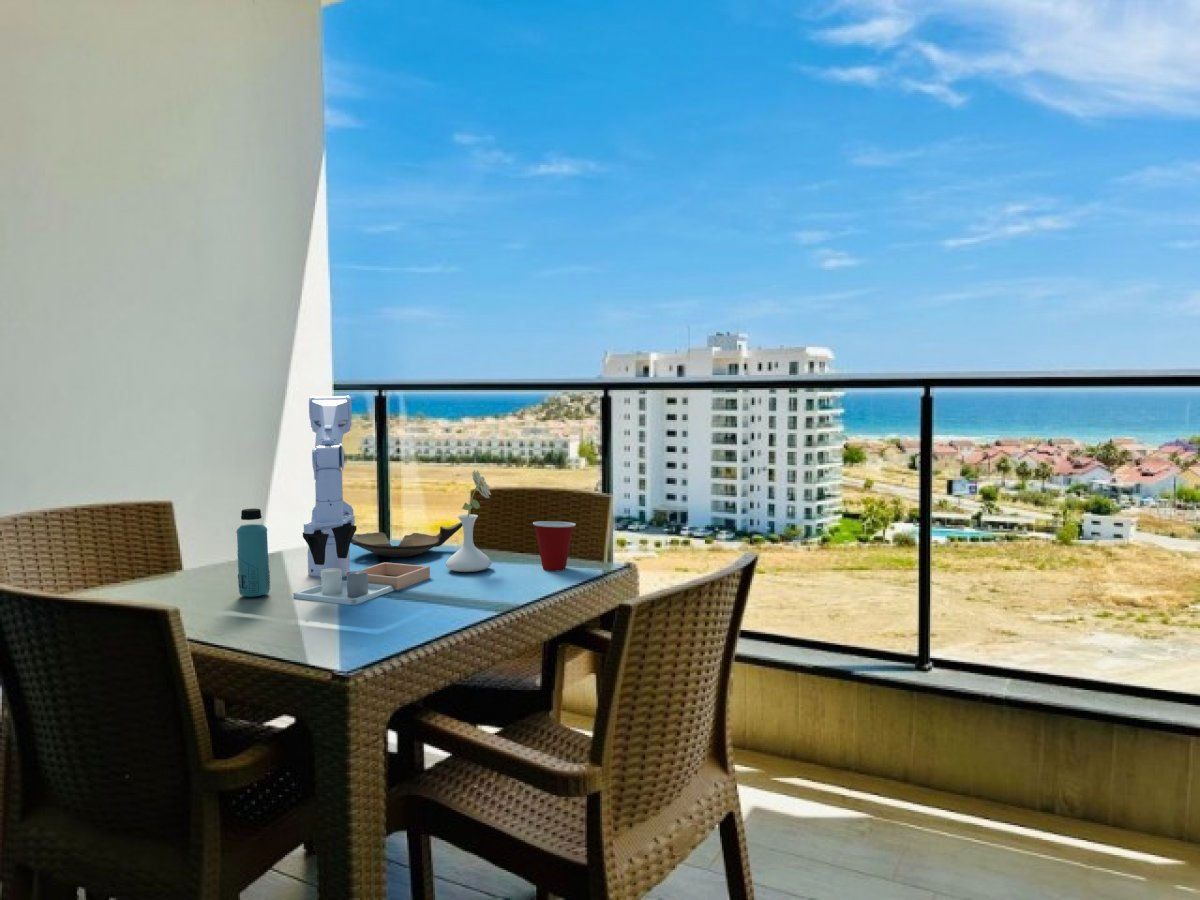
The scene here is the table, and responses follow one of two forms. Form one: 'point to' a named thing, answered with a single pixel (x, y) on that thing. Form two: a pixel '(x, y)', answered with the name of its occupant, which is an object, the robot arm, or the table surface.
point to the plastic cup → (554, 543)
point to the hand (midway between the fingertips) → (331, 561)
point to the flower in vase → (470, 536)
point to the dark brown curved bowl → (404, 542)
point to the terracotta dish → (397, 574)
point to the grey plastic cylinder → (357, 583)
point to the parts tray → (343, 594)
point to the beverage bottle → (253, 556)
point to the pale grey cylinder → (331, 581)
